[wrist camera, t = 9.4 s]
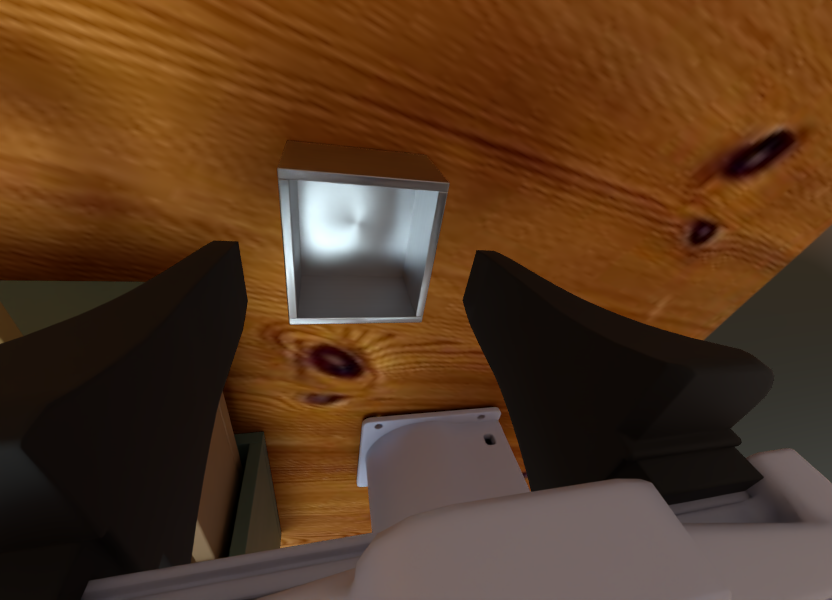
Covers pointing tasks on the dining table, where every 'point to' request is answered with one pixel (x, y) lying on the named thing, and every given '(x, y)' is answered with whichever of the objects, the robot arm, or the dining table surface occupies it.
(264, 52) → the dining table surface
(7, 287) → the drawer
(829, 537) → the robot arm
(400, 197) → the open metal box
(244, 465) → the cabinet
